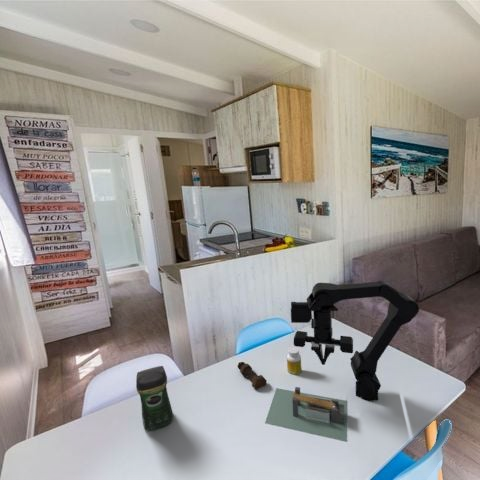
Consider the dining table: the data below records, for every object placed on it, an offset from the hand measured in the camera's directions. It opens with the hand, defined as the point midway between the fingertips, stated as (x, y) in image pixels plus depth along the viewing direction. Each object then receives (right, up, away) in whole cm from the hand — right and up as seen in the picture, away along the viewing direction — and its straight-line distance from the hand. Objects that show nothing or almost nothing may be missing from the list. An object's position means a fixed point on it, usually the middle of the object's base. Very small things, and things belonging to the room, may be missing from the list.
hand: (323, 364), depth 99 cm
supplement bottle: (-7, -10, +16) cm, 20 cm away
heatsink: (-3, -13, -6) cm, 15 cm away
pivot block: (+1, -13, -8) cm, 15 cm away
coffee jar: (-55, -18, -2) cm, 58 cm away
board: (-6, -14, -5) cm, 16 cm away
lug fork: (-10, -13, -4) cm, 17 cm away
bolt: (-24, -12, +14) cm, 31 cm away
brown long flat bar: (-5, -10, -6) cm, 12 cm away
